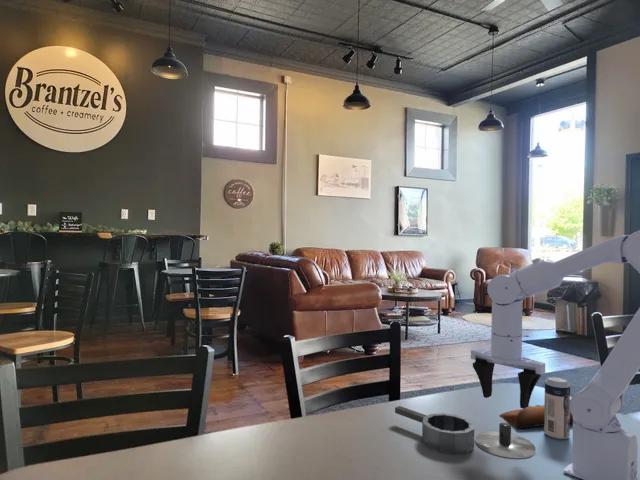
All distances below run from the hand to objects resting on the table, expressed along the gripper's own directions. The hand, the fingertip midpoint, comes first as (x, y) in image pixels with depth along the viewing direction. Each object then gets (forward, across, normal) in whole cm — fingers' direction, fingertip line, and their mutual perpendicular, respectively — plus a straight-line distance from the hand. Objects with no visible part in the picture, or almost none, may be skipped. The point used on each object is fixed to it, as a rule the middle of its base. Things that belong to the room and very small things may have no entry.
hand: (505, 401), depth 91 cm
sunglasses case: (+9, 0, +20) cm, 22 cm away
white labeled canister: (+9, +5, +13) cm, 17 cm away
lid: (+9, 0, 0) cm, 9 cm away
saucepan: (+9, -12, -8) cm, 17 cm away
